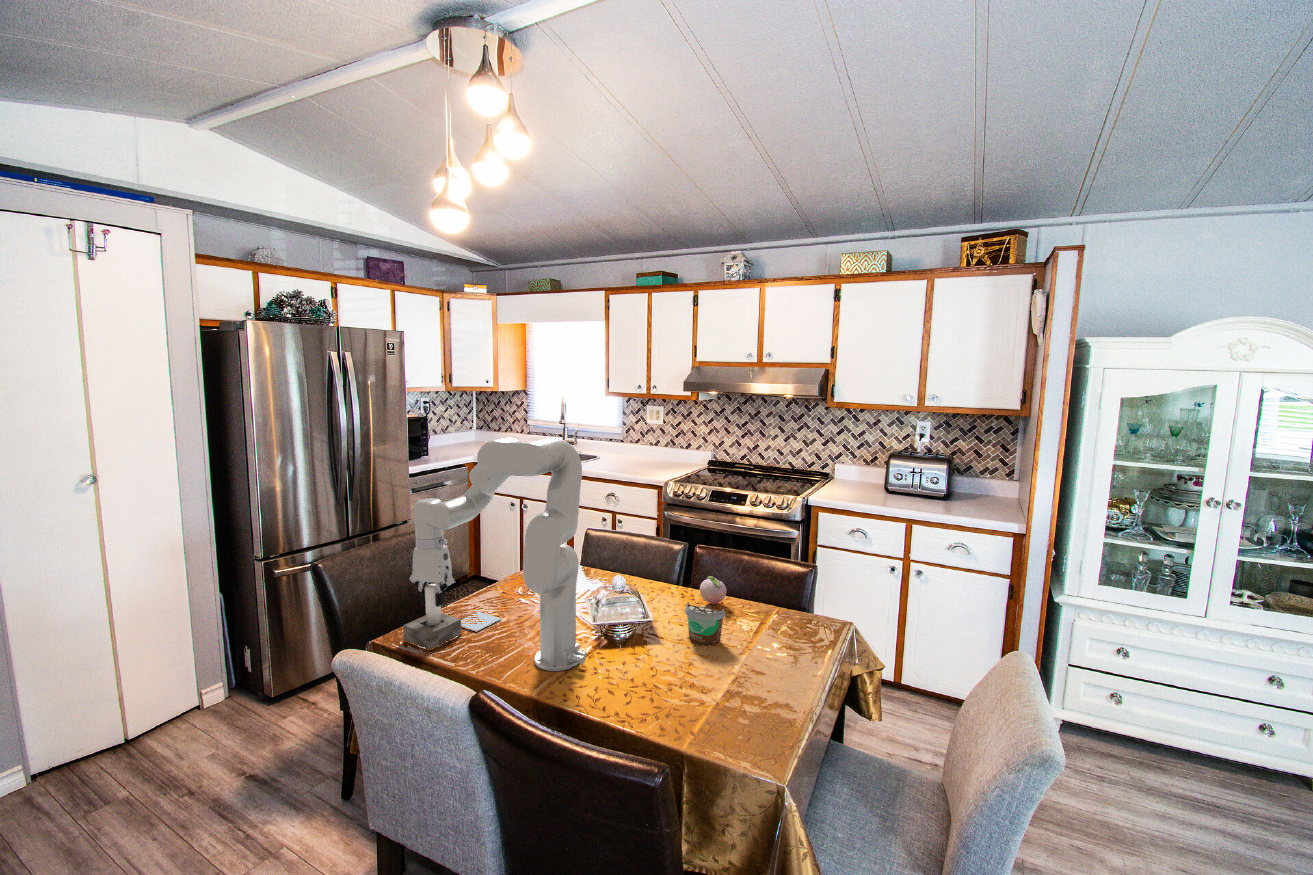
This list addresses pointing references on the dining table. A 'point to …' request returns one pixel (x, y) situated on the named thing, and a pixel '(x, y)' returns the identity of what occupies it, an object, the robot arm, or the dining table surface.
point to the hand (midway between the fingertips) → (433, 603)
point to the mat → (487, 621)
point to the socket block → (432, 631)
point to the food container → (704, 624)
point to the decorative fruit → (712, 590)
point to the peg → (432, 606)
